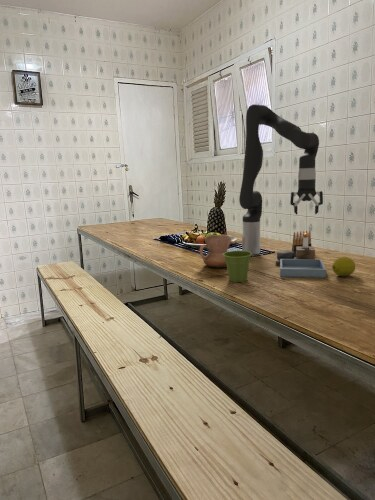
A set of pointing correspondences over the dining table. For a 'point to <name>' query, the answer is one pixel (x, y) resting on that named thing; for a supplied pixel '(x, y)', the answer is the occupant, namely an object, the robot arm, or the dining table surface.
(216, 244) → the ceramic jug
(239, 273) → the plant pot
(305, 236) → the lock pin
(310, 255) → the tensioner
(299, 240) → the ammunition clip
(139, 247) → the dining table surface
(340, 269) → the lemon
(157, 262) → the dining table surface
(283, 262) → the tray
